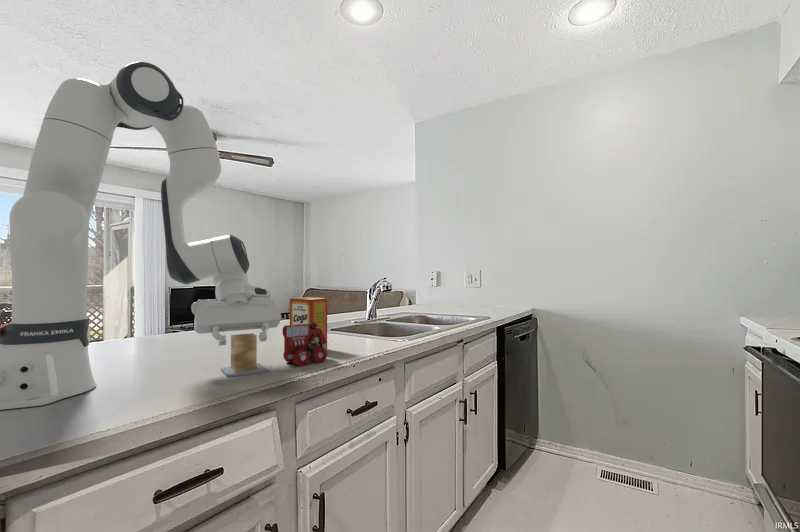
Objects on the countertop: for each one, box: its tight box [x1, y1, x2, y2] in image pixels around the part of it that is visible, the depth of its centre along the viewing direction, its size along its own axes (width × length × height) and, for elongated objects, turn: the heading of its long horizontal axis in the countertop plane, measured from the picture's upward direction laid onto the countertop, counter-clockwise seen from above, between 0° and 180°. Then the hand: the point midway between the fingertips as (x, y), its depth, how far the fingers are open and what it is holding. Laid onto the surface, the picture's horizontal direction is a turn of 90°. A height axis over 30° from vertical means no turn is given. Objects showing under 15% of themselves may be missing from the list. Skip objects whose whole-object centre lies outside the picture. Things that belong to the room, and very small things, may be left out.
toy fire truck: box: [282, 322, 328, 367], centre depth 102 cm, size 7×12×10 cm, turn 133°
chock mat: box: [220, 362, 269, 378], centre depth 93 cm, size 9×8×1 cm
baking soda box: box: [289, 296, 328, 345], centre depth 119 cm, size 10×6×16 cm
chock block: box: [230, 333, 258, 372], centre depth 93 cm, size 5×4×8 cm
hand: (243, 341), depth 94 cm, fingers open, 8 cm apart
